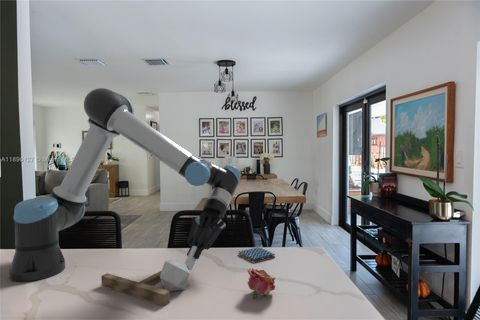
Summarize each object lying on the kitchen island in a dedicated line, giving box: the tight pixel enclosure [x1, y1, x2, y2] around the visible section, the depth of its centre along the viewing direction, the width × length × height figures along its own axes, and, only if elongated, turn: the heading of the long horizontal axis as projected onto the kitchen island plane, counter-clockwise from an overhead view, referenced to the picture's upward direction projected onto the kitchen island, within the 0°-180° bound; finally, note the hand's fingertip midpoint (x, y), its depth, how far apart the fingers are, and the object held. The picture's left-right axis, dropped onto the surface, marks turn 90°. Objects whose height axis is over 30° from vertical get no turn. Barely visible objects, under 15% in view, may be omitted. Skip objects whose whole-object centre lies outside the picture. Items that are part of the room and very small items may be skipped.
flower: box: [246, 267, 276, 299], centre depth 82 cm, size 9×9×7 cm
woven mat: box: [237, 246, 276, 264], centre depth 112 cm, size 10×11×2 cm
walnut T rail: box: [101, 270, 171, 307], centre depth 90 cm, size 24×16×3 cm, turn 61°
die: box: [160, 258, 191, 292], centre depth 87 cm, size 8×9×10 cm
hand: (187, 267), depth 93 cm, fingers closed
